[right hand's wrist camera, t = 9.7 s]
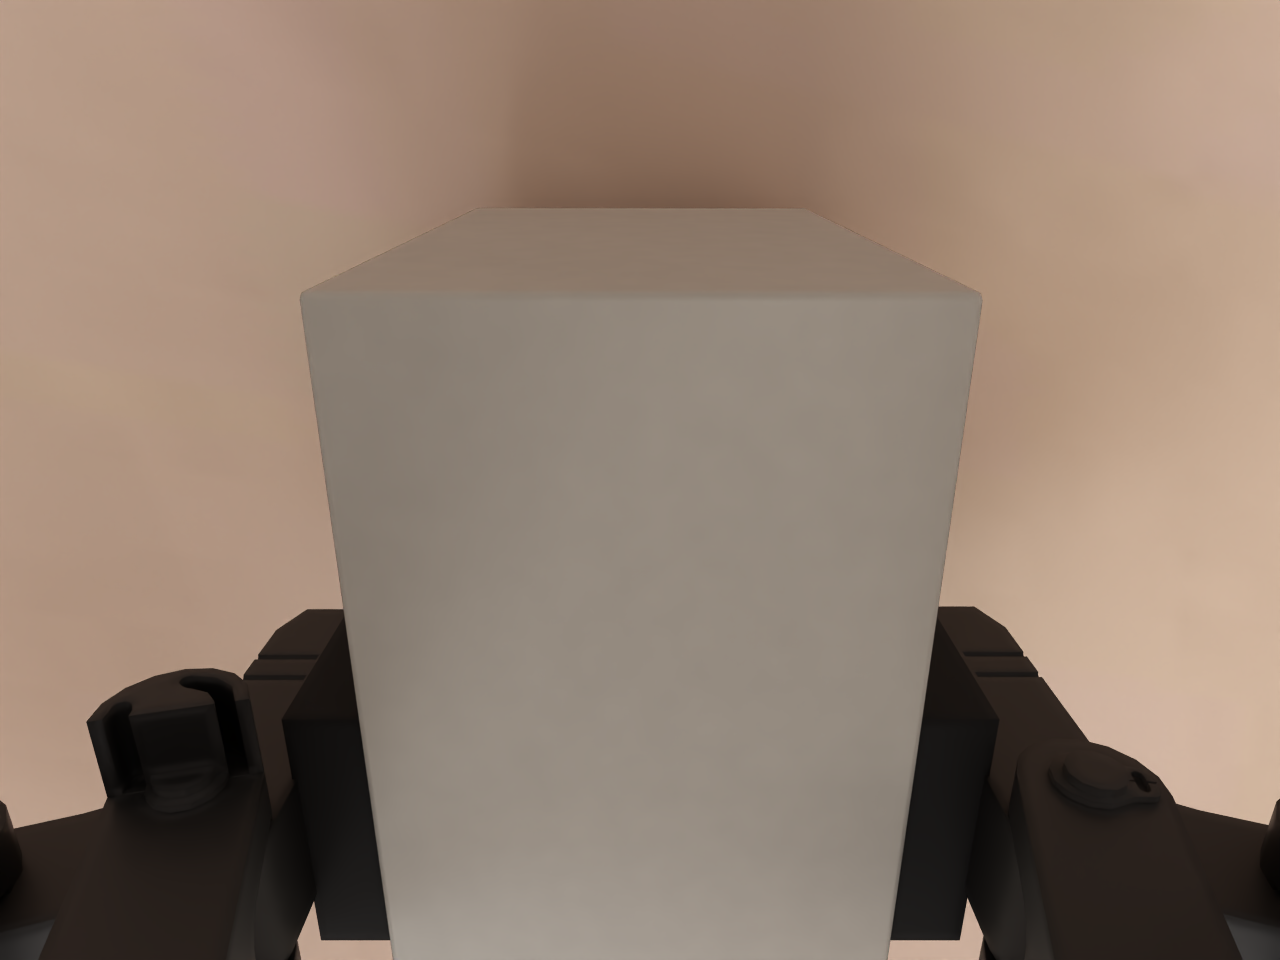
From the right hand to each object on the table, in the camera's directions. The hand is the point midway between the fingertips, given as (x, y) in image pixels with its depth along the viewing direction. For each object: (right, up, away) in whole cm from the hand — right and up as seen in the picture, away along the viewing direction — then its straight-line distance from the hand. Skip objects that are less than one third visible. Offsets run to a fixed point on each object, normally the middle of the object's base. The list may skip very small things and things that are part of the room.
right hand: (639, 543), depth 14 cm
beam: (0, -33, +14) cm, 36 cm away
